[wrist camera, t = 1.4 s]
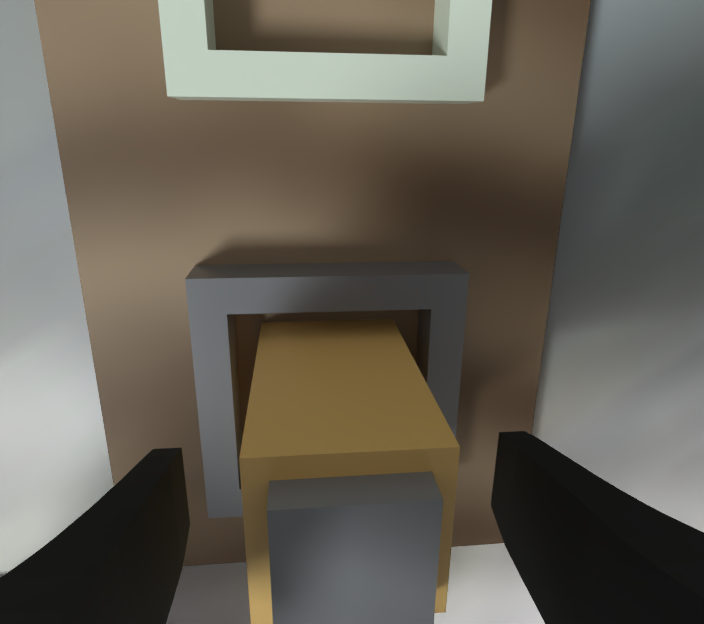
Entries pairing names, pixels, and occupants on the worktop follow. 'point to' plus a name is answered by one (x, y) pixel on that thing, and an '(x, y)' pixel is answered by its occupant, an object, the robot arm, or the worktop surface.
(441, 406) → the grey square frame
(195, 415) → the switch board
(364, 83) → the pale green square frame
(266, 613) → the plug
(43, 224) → the worktop surface
